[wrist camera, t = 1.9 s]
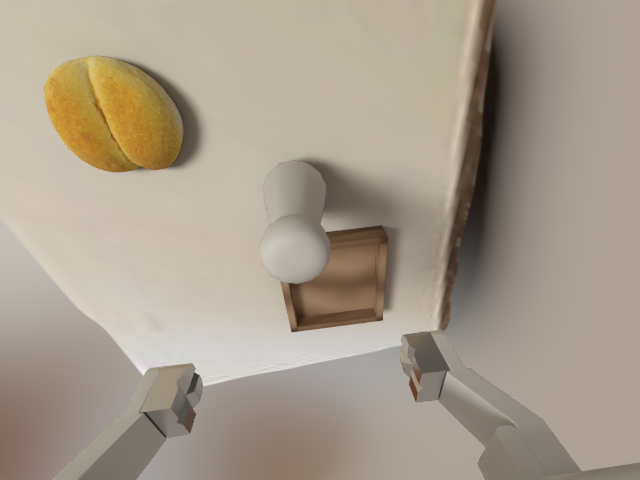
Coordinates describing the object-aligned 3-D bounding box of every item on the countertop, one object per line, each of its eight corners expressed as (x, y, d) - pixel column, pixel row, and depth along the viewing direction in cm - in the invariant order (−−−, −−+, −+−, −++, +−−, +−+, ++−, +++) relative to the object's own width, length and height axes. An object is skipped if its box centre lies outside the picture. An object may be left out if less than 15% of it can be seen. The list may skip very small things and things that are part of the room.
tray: (275, 238, 29) (273, 250, 27) (381, 225, 29) (388, 236, 27) (291, 317, 36) (291, 332, 34) (377, 306, 36) (382, 320, 34)
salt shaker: (329, 160, 25) (359, 227, 14) (317, 214, 28) (333, 303, 17) (268, 148, 24) (248, 210, 13) (261, 204, 27) (240, 294, 16)
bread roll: (198, 163, 24) (183, 177, 21) (97, 168, 24) (65, 184, 20) (167, 54, 20) (142, 50, 16) (42, 58, 19) (-10, 55, 16)
